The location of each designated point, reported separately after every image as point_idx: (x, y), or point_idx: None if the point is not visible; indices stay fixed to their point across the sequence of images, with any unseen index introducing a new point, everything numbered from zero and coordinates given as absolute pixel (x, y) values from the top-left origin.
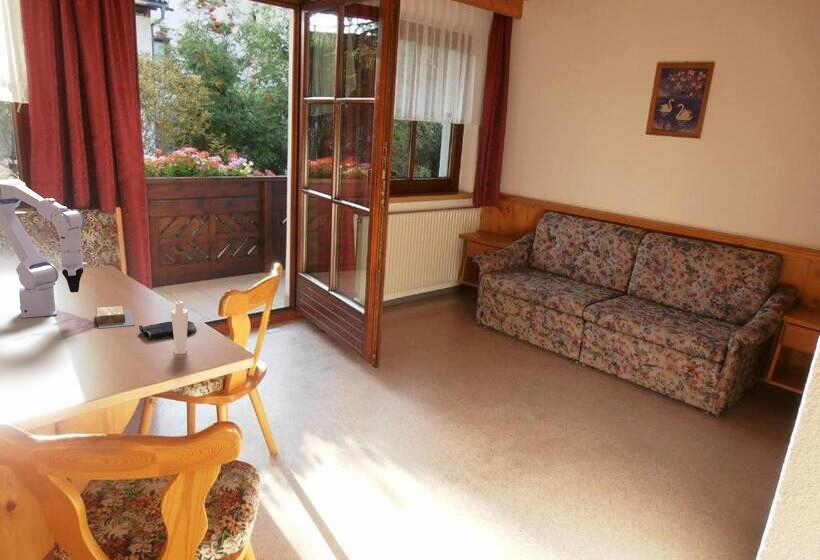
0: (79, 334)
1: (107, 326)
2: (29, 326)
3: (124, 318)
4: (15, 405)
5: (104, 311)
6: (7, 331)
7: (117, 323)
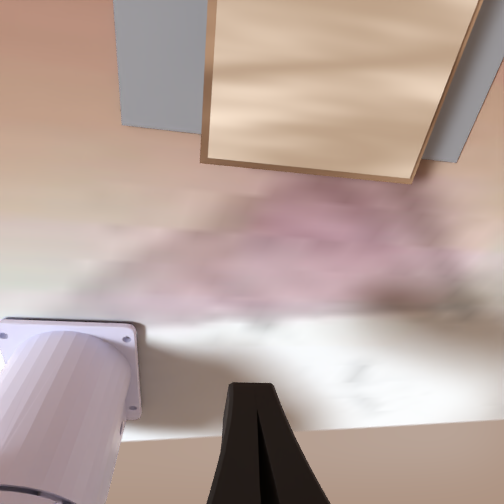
0: (466, 253)
1: (464, 111)
2: None
3: None
4: None
5: (332, 114)
6: None
7: None
